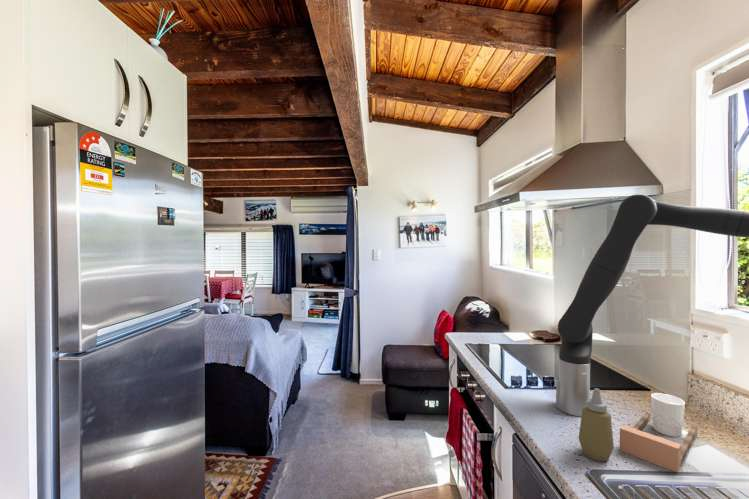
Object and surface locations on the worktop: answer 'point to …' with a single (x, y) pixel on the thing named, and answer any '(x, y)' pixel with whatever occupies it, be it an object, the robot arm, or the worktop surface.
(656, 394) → the white cup
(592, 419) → the squeeze bottle
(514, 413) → the worktop surface
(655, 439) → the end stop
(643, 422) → the rails
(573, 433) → the worktop surface
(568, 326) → the robot arm
